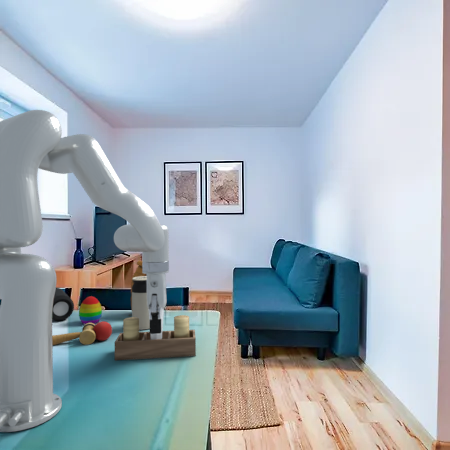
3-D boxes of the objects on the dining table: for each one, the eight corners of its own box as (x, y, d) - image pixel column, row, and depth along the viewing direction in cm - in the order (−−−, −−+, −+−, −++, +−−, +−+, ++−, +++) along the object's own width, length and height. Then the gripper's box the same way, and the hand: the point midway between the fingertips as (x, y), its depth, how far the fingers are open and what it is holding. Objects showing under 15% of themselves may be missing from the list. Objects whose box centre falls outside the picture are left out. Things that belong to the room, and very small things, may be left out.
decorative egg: (74, 324, 128) (73, 298, 128) (89, 318, 136) (88, 293, 136) (92, 326, 125) (91, 299, 125) (106, 320, 133) (106, 294, 133)
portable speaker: (75, 320, 134) (75, 295, 134) (47, 324, 129) (46, 298, 129) (65, 307, 156) (65, 285, 156) (40, 310, 150) (40, 288, 150)
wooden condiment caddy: (195, 355, 96) (195, 320, 96) (114, 360, 94) (114, 324, 94) (195, 345, 104) (194, 313, 104) (120, 349, 102) (120, 316, 101)
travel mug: (156, 328, 122) (156, 278, 122) (133, 331, 119) (133, 280, 119) (152, 322, 129) (152, 275, 129) (131, 325, 126) (130, 276, 126)
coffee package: (133, 320, 133) (132, 263, 133) (129, 312, 144) (128, 260, 144) (158, 317, 137) (158, 262, 137) (153, 310, 148) (152, 259, 148)
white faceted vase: (148, 348, 96) (148, 295, 96) (147, 343, 100) (147, 292, 100) (165, 346, 97) (164, 294, 97) (163, 341, 101) (163, 291, 101)
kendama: (50, 354, 102) (112, 339, 107) (47, 333, 103) (109, 319, 108) (55, 350, 110) (114, 336, 115) (53, 330, 110) (111, 317, 115)
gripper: (167, 271, 91) (167, 339, 91) (170, 263, 107) (170, 321, 107) (138, 271, 90) (139, 340, 90) (146, 264, 107) (146, 322, 107)
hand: (156, 329), depth 99 cm, fingers closed on white faceted vase, 4 cm apart
